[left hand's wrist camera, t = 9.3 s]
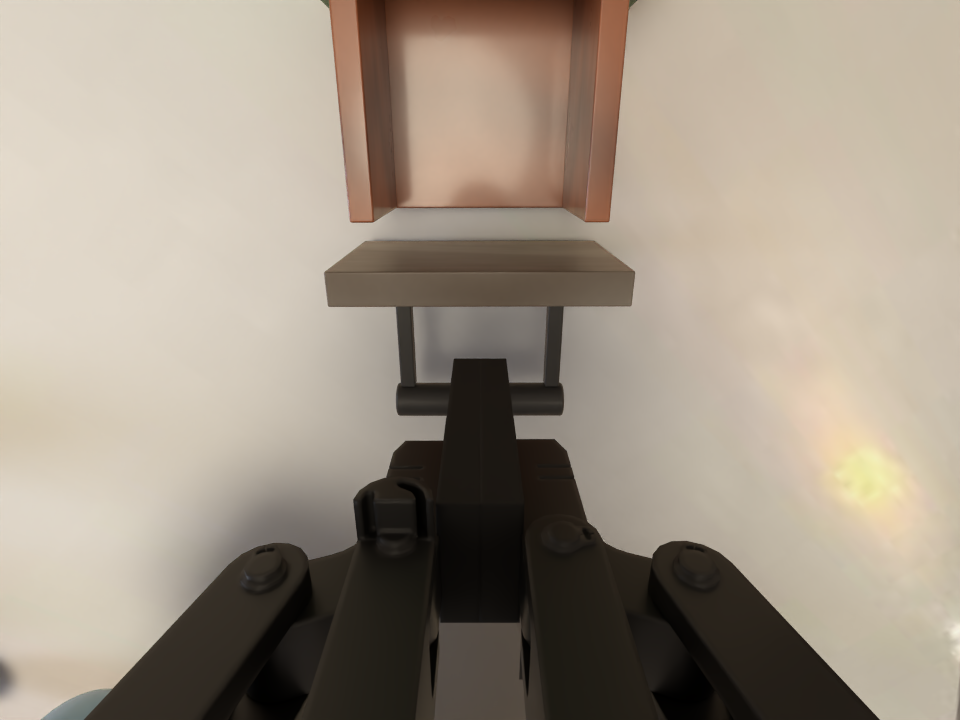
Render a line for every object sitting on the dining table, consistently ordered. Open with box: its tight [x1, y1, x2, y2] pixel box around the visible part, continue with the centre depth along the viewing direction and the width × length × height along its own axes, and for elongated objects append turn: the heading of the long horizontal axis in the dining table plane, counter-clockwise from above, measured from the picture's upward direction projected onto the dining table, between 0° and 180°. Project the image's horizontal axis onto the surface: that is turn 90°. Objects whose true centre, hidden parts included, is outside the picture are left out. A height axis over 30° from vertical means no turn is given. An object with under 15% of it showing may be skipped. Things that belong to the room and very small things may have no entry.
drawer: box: [324, 0, 635, 416], centre depth 18 cm, size 25×10×6 cm, turn 0°
